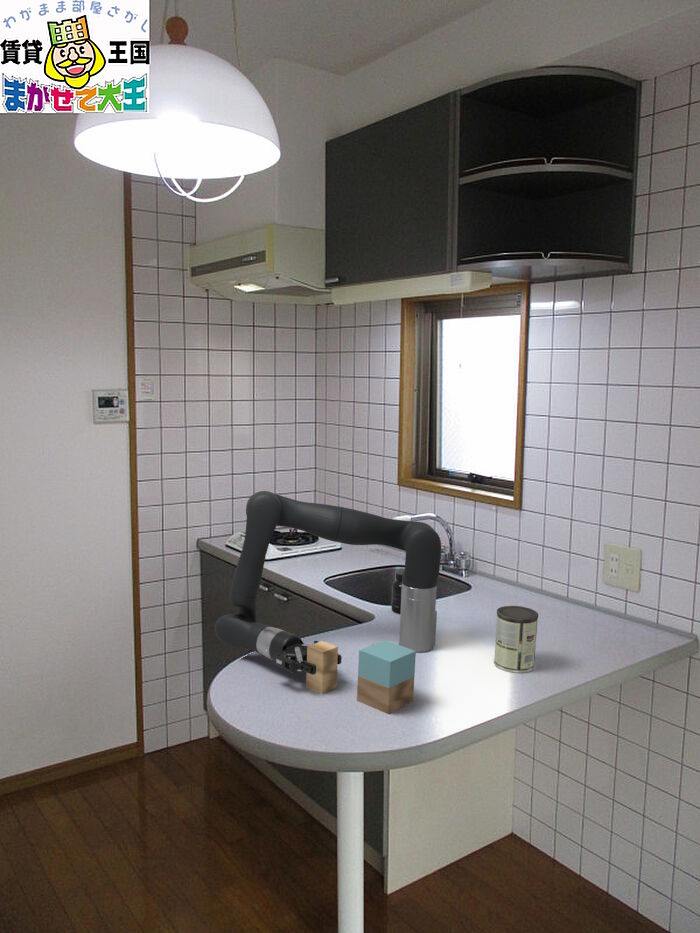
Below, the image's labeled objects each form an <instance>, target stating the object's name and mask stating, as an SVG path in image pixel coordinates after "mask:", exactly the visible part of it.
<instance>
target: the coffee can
mask: <svg viewBox="0 0 700 933" xmlns="http://www.w3.org/2000/svg"><path fill="white" fill-rule="evenodd" d="M538 618H539V613H538V611H536V610H534V609H532V608H529V607H524V606H521V605H520V606H518V605H505V606H504V605H503V606H500V607H498V608H497V609H496V628H495V644H494V659H493V664H495V665H494V667H496V668H498V669H500V670H501V669H502V671H505V672H509V673H513V674H514V673H515V674H516V673H517V674H525V673H526V674H527V673H530V672H531V671H533V670H534V669H535V658H536V648H537V647H536V645H537V635H538V634H537V631H538Z"/></svg>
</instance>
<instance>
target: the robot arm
mask: <svg viewBox="0 0 700 933" xmlns="http://www.w3.org/2000/svg"><path fill="white" fill-rule="evenodd" d="M245 506H246V507H245V514H246V522H245V523H246V524H245V534H244V540H243V545H242V548H241V553H240V555H239V558H238V561H237V565H236V567H235V571H234V575H233V578H232V582H231V587H230V590H229V596H228V601H229V603H230V604H231V605H232V606H235V607H237V613H235V614H232V613H231V614H224V615H222V616H220V617H219V618H217V620H216V621H215V624H214V632H215V635H216V637H217V638H218V639H219V641H221V642H222V643H223V644H227V645H230V646H235V647H240V648H243V649H244V648H245V649H249V650H251V652H255V653H257V654H260V655H262V656H263V657H265V658H267V659H270V660H272V661H274V662H276V664H275V665H276V667H278V668H280V669H283V670H285V671H287V672H289V673H290V674H291V673H292V674H293V673H295V672H296V671H297V672H302V671H303V672H304V673H306V674H307V673H309V674H312V675H314V674H316V665H314V664H312V663H309V662H307V646H310V645H311V644H309V643H304V642H303V640H302V639H301V637H300V636H299V635H297V634H295V633H292V632H289V631H286V630H283V629H281V628H277V627H273V626H270V625H267V624H265V623H261V622H257V597H258V594H259V590H260V586H261V582H262V576H263V572H264V568H265V567H264V566H265V562H266V556H267V552H268V548H269V545H270V542H271V540H272V537H273V536H274V532H275V529H276V528H277V527H283V528H290V529H296V530H299V531H302V532H304V533H307V534H310V535H313V536H315V537H318V538H321V539H324V540H327V541H331V542H334V543H341V544H344V545H345V544H346V545H351V546H372V545H375V546H376V545H377V546H378V545H380V546H386V547H391V548H395V549H398V550H401V551H404V552H405V560H404V570H403V571H404V572H403V575H402V592H401V613H400V614H399V615H400V619H399V621H400V622H399V639H398V645H400V646H403V647H406V648H409V649H411V650H414V651H416V653H424V652H425V653H426V652H429V651H431V650H433V649H434V646H435V645H436V637H437V636H436V635H437V634H436V632H437V616H438V615H437V614H438V611H437V610H436V609H437V608H436V607H437V606H436V605H437V586H438V579H439V576H440V569H441V558H442V542H441V537H440V535H439V534H438V532H437V531H436V530H435V529H434V528H433V527H432V526H431V525H429V524H428V523H426V522H422V521H415V520H413V521H411V520H404V519H402V520H401V519H392V518H388V517H384V516H380V515H376V514H373V513H369V512H366V511H361V510H357V509H354V508H348V507H344V506H340V505H332V504H325V503H317V502H316V503H315V502H308V501H300V500H297V499H293V498H289V497H287V496H283V495H280V494H277V493H275V492H272V491H267V490H260V491H256V492H255V493H253V494H252V495H251V496H249V498H248V500H247V502H246V505H245ZM318 642H320V641H319V640H314V641H313V644H315V643H318ZM342 657H343V656H342V655H341V654H339V653H338V660H337V665H341V664H342Z"/></svg>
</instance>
